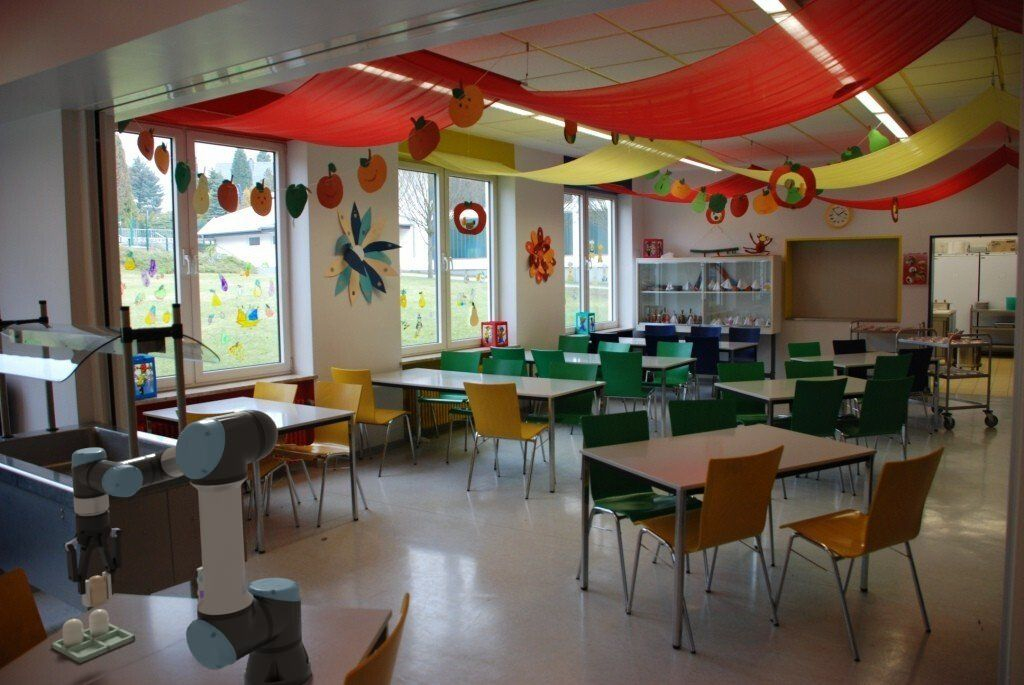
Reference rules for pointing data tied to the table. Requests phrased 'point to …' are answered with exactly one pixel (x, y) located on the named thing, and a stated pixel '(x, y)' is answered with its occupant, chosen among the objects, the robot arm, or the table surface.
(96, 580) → the brown egg
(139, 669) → the table surface
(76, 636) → the cream egg
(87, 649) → the egg tray
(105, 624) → the cream egg
